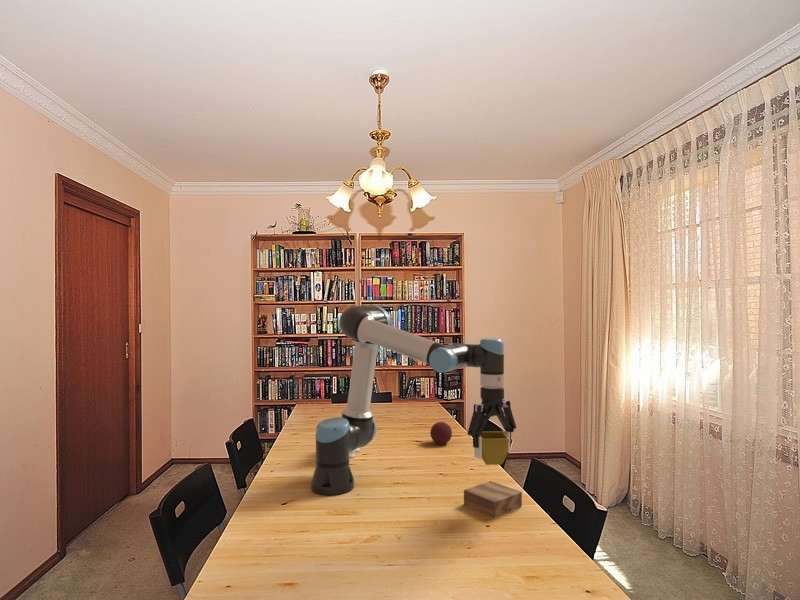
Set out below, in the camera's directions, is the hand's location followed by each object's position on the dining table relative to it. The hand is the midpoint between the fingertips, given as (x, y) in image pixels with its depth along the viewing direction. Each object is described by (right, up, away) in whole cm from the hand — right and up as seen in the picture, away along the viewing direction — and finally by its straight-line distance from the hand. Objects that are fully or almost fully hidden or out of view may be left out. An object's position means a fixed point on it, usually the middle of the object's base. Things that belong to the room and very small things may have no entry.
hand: (492, 454), depth 160 cm
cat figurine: (-52, -17, +55) cm, 77 cm away
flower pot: (0, -3, 0) cm, 3 cm away
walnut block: (0, -17, 0) cm, 17 cm away
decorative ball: (-11, -17, +70) cm, 73 cm away
